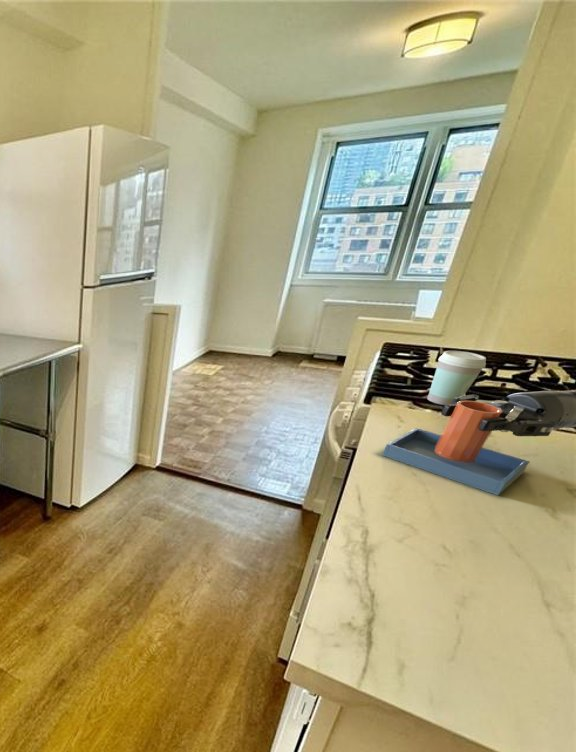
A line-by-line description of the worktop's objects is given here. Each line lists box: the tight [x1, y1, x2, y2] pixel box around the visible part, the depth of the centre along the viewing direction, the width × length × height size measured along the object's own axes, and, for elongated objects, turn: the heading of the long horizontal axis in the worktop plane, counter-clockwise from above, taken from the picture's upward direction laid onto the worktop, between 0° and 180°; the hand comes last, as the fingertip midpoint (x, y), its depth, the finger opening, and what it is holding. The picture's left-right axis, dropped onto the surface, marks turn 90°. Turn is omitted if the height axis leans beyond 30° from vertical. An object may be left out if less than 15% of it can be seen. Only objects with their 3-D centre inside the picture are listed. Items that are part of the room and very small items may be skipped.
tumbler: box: [434, 401, 503, 462], centre depth 90 cm, size 6×6×10 cm
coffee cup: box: [426, 350, 487, 406], centre depth 118 cm, size 8×9×12 cm
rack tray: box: [381, 427, 530, 496], centre depth 92 cm, size 17×14×2 cm
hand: (463, 417), depth 88 cm, fingers closed on tumbler, 6 cm apart
